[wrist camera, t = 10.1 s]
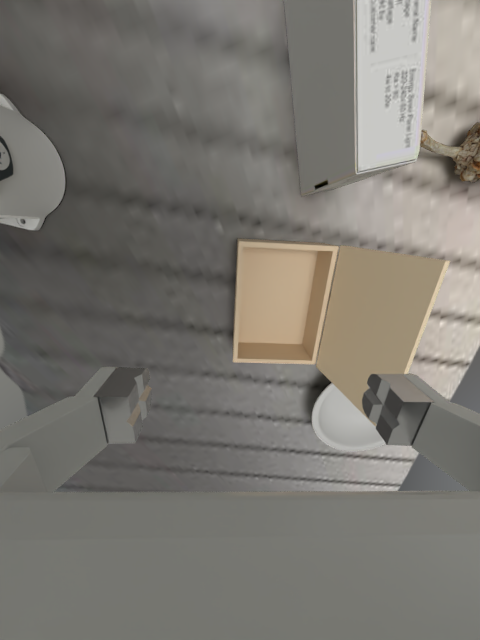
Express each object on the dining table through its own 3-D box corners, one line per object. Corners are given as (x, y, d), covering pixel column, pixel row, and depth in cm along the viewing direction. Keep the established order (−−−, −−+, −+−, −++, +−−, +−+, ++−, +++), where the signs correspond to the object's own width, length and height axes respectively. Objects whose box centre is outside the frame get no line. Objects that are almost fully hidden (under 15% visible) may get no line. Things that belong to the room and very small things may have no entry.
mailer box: (232, 344, 52) (233, 362, 45) (237, 238, 44) (238, 241, 37) (304, 346, 53) (315, 364, 46) (322, 242, 45) (338, 246, 38)
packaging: (335, 188, 41) (419, 160, 23) (300, 196, 42) (355, 174, 23) (324, -78, 30) (476, -568, 11) (277, -66, 30) (349, -523, 12)
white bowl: (409, 347, 54) (432, 363, 48) (390, 426, 63) (408, 448, 57) (305, 355, 54) (315, 372, 48) (301, 433, 63) (309, 455, 57)
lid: (381, 433, 31) (385, 432, 31) (445, 260, 23) (450, 261, 23) (315, 366, 46) (318, 366, 46) (340, 245, 37) (343, 245, 37)
